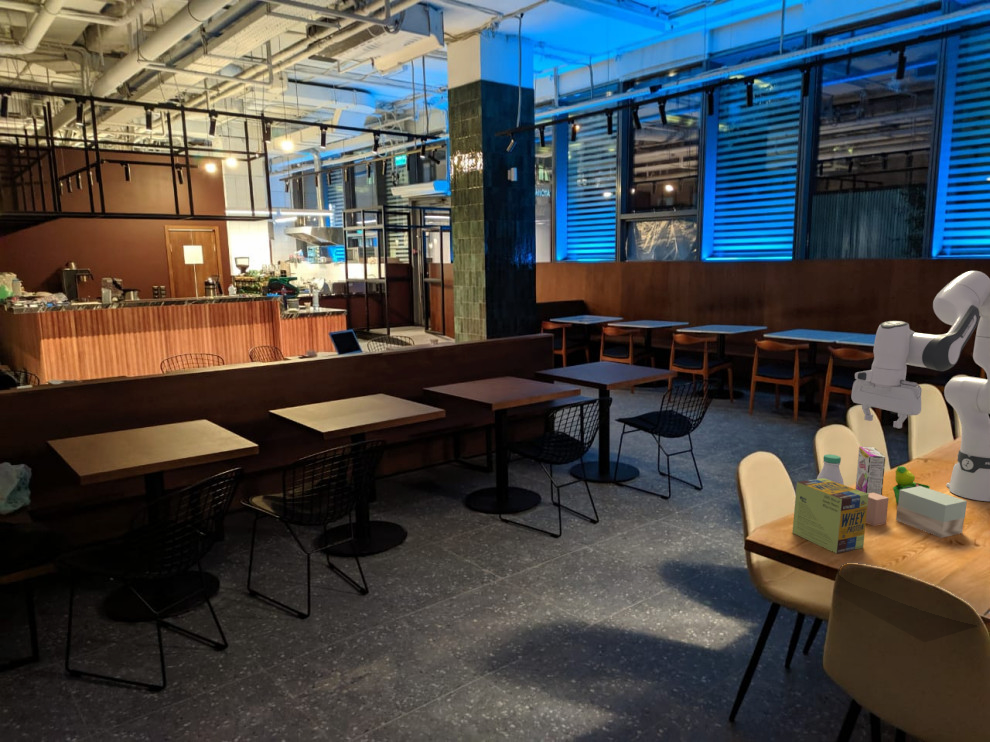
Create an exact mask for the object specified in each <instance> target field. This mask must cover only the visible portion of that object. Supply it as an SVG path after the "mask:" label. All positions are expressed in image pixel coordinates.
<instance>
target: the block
mask: <svg viewBox="0 0 990 742" xmlns="http://www.w3.org/2000/svg"><path fill="white" fill-rule="evenodd" d="M868 494H869V495H868V505H867V515H866V522H867V523H866V524H868V523H869V525H871V526H873V527H875V526H879V525H884V524H885V525H886V523H887V516H888V507H889V500H890V499H889V497H887V496H885V495H883V494H882V495H879V494H877V493H874V492H873V493H868Z"/></svg>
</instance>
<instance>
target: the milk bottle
mask: <svg viewBox="0 0 990 742" xmlns="http://www.w3.org/2000/svg"><path fill="white" fill-rule="evenodd" d="M841 461H842V457H841V456H839V455H836V454H832V453H829V454H824V455H823V462H822V463H823V467H822V469H821V471H820V472H819V473H818V475H817V477H816V479H821V478H825V479H828V480H831V481H833V482H836V483H839V484H842V485H845V483H844V478H843V476H842V473H841V470H840V465H841Z"/></svg>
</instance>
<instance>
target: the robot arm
mask: <svg viewBox="0 0 990 742" xmlns="http://www.w3.org/2000/svg"><path fill="white" fill-rule="evenodd" d="M932 309H933V312H934V314H935V315H936V317H937V318H938V319H939V320H940V321H941V322H943V323H944V324H946V325H949V326H951V327H950V328H949V330H948V332H947V333H943V334H931V333H922V332H915V331H914V330H912V329H911V328H910V324H909V322H905V321H902V320H889V321H884V322H881V323H880V324H879V326H878V328H877V330H876V333H875V338H874V343H873V344H874V345H873V350H872V351H873V357H874V358H873V361H872V364H871V369H868V370H863V371H857V372H855V373H854V379H855V380H854V381H853V384H852V389H851V395H850V397H851V400H852V402H853V403H855V404H859V405H861V409H862V411H863V415H864V420H865V421H868V422H870V421H871V422H872V421H873V420H874V414H872V413H871V410H870V409H871V408H878V409H880V410H886V411H889V412H893V413H897V417H898V418H897V420H895V421H894V420H893V426H892V427H893V428H895V429H902V428H903V423H904V422H905V420H906V419H907V418H908V416H909V417H910V416H918V415H919V414H920V413H921V411H922V391H923V390H922V387H921V386H920V385H919V384H918V383H917V382H914V381H909V380H906V379H907V377H906V376H907V369H908V367H907V365H909V366H912V367H913V366H914V367H920V368H926V369H930V370H935V371H938V372H945V371H948V370H950V369H951V368H953V367H954V366H955V365H956V364H957V363H958V361H959V359H960V356H961V353H962V351H963V349H964V347H965V346H966V344H967V342H968V341H969V339H970V338H971V336H972V334H973V332H975V329H976V334H975V339H974V345H973V354H972V358H973V361H974V363H975V364H976V365H978V366H979V367H980V368H982V369H983V371H984V372H985V373H986V377H987V379H986V378H981V377H975V376H954V377H952V378H951V379H949V381H948V382H947V383H946V384H945V386H944V391H943V393H944V394H943V395H944V397H945V400H946V402H947V403H948V404H949V405H950V406H951V407H952V408H953V409H954V411H955V413H956V414H957V416H958V419H959V422H960V427H961V439H960V440H961V441H960V449H959V450H958V452H957V459H956V460H957V462H956V463H955V464H954V465H953V468H952V471H951V472H952V473H951V475H950V476H951V477H950V482H947V483H946V485H945V486H946V487H947V488H948V489H949V492H950V493H953V494H954V495H956V496H959V497H961V498H965V499H970V500H974V501H981V502H983V501H984V502H990V416H989V415H990V277H989V276H988V275H987V274H986V273H984V272H982V271H978V270H969V271H965V272H963V273H961V274H960V275H958V276H957V277H955V278H954V279H952V280H951V281H950V282H948V283H947V284H946V285H945V286H944V287H943V288H942V289H941V290H940V291H939V292H938V293H937V294H936V296H935V297H934V299H933V302H932Z"/></svg>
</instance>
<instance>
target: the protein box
mask: <svg viewBox="0 0 990 742" xmlns="http://www.w3.org/2000/svg"><path fill="white" fill-rule="evenodd" d="M868 495H869V494H868V493H865V492H862V491H859V490H856V488H853V487H850V486H847V485H845V484H844V485H842V484H839V483H836V482H833V481H831V480H828V479H825V478H821V479H817V478H816V479H807V480H803V481H797V482H796V488H795V500H794V501H795V502H794V508H793V509H794V510H793V522H792V530H791V531H792V534H794V535H796V536H799V537H800V538H803V539H805V540H806V541H809V542H811V543H813V544H815V545H817V546H820V547H821V548H823V547H824V549H825V548H826V549H825V550H828V551H830V552H832V551H833V552H832V553H834V552H835V553H834V554H840V552H841V553H844V552H849V551H853V550H854V551H855V550H858V549H863V548H864V544H865V533H866V524H867V523H866V515H867V505H868Z"/></svg>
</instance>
